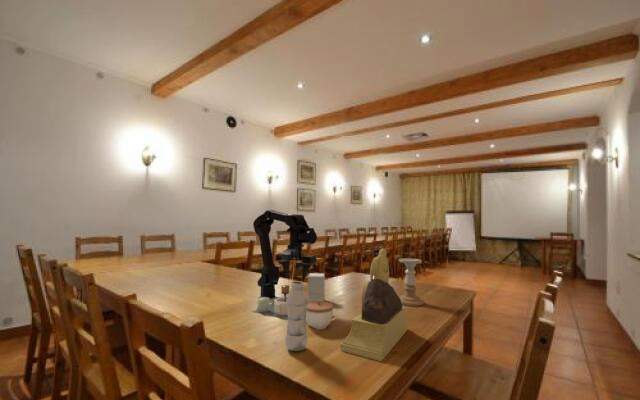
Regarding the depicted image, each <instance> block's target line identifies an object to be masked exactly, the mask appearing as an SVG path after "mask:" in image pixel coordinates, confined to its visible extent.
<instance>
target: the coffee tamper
mask: <svg viewBox="0 0 640 400" xmlns="http://www.w3.org/2000/svg"><path fill="white" fill-rule="evenodd" d="M280 293H281V294H283V297H284V302H286V297H287V295H289V294H290V285H287V284H286V285H281V292H280Z"/></svg>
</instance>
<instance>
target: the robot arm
mask: <svg viewBox="0 0 640 400" xmlns="http://www.w3.org/2000/svg"><path fill="white" fill-rule="evenodd" d="M275 221H276V222H277V221H278V222H282V223H284V224H285V225H286V226H287V227H289V228H287V230H286V232H287V233H289V244H287V246H286V247H287V248H286V249H285V250H283V251H282V252H280V253H277V254H276V255H275V260H276V261H277V262H278V263H279V264H281V266H282V268H283V271H284V274H285V276H286V277H289V273H290V265H291V261H301V262H302V263H301V266H302V279H303V280H304V279H306V278H307V275H308V273H309V271H310V268H311V267H312V265H314V264H315V263H317V257H316V255H311V254H309V255H304V253H303V248H304V247H305V245H304V244H308V245H309V244H310V245H314V244H315V243H316V242H317V239H318V235H317V233H316V231H315V229H314V227H310V226H309V225H308V222H307V221H306V219H305V216H304V215H303V214H297V213H296V214H293V213H292V214H289V213H285V212H281V211H276V210H273V209H272V210H270V209H267V210H266V211H265V212H264V213H261V214H260V215H258V216H257V217H256V218H255V219H254V221H253V223H252V226H253V230H254V232H255V234H256V235H257V236H258V240H259V247H260V252H261V259H262V269H261V271H260V274H261V275H260V277H259V279H258V280H257V281H256V283H257V286H258V287H260V296H259V297H258V298H260V297H268V298H270V300H271V299H276V297H277V295H276V287H275V286H276V285H277V286H278V284H279V280H280V275H281V273H280V267H279V266H277V265H276V264H275V263H274V257H273V252H272V246H271V245H272V244H271V239H270V234H271V230H272V225H273V224H274V223H275ZM258 298H257V299H258ZM277 298H278V297H277Z"/></svg>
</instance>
